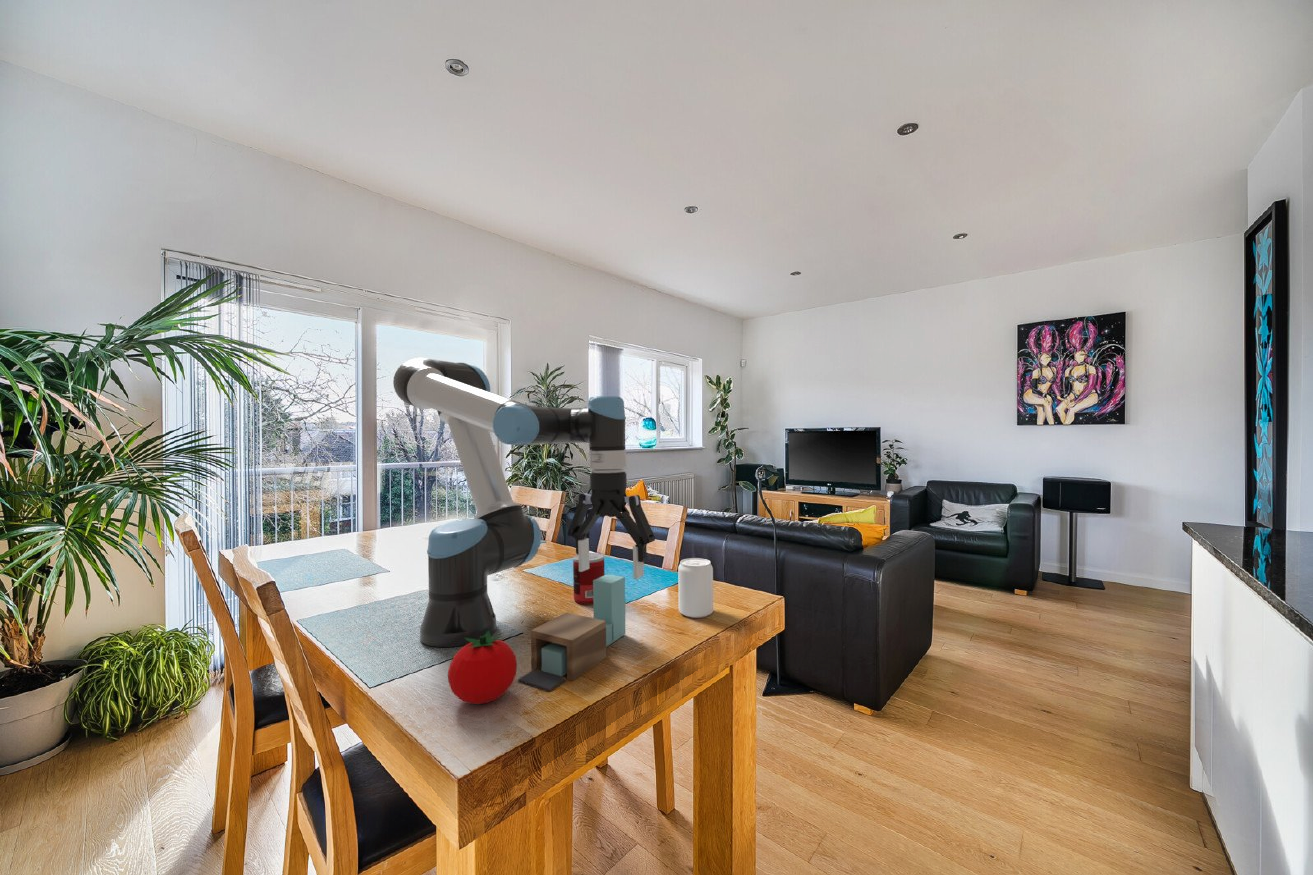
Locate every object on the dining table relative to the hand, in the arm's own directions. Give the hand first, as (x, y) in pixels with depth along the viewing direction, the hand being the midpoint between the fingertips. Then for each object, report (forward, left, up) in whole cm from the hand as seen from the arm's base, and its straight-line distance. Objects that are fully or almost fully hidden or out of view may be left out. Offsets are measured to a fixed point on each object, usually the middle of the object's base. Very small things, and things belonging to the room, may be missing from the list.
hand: (610, 573), depth 102 cm
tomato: (-5, -29, -14) cm, 33 cm away
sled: (0, -8, -13) cm, 15 cm away
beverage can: (+10, +21, -14) cm, 27 cm away
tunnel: (0, -13, -13) cm, 19 cm away
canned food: (-18, +17, -14) cm, 28 cm away
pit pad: (0, -20, -13) cm, 24 cm away
